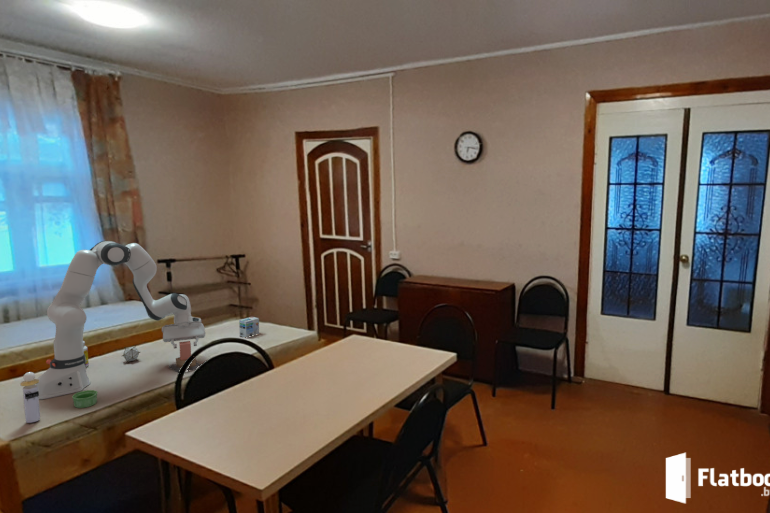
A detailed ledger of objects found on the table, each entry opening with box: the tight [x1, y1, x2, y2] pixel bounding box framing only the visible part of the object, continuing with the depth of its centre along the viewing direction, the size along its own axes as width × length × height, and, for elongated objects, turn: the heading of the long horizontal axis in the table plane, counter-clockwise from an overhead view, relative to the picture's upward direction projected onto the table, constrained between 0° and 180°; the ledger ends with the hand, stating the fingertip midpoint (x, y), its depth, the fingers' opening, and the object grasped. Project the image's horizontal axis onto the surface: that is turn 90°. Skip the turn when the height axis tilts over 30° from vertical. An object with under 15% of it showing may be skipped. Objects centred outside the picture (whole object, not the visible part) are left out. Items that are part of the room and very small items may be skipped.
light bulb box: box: [238, 316, 260, 338], centre depth 298 cm, size 11×7×11 cm, turn 147°
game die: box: [121, 345, 141, 364], centre depth 251 cm, size 9×8×10 cm
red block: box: [178, 340, 192, 360], centre depth 242 cm, size 5×5×8 cm
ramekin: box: [71, 389, 99, 409], centre depth 200 cm, size 9×9×4 cm
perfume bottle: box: [19, 371, 41, 424], centre depth 183 cm, size 6×6×20 cm
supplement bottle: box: [83, 340, 89, 368], centre depth 242 cm, size 7×7×13 cm
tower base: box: [168, 356, 202, 373], centre depth 243 cm, size 12×12×5 cm
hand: (185, 346), depth 242 cm, fingers open, 8 cm apart
